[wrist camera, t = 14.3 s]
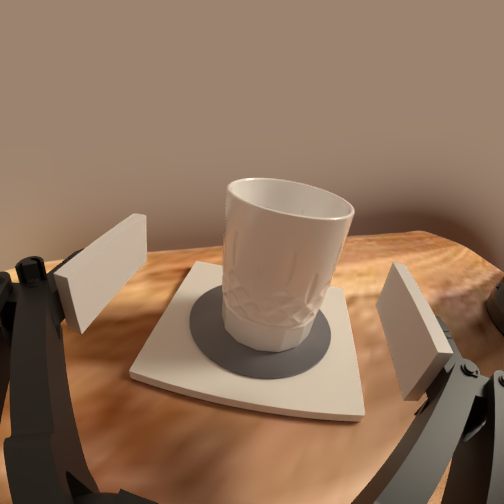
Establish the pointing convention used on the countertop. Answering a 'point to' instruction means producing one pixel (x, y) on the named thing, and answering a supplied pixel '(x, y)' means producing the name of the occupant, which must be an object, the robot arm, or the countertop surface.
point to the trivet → (252, 357)
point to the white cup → (278, 259)
